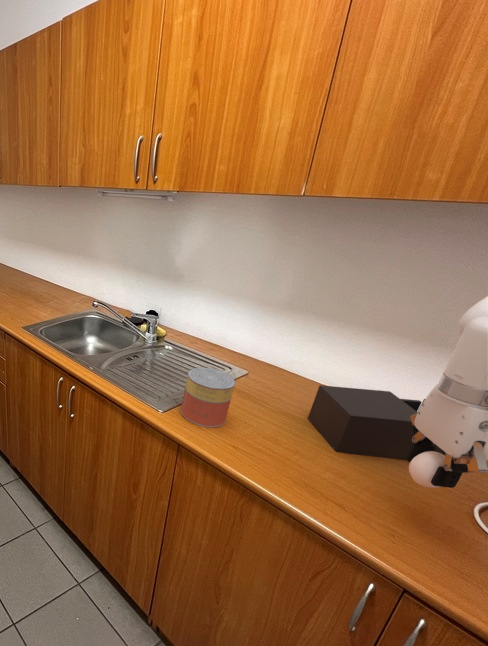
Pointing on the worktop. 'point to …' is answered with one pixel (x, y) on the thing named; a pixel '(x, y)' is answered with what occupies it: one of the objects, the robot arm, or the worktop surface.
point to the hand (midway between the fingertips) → (429, 472)
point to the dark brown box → (363, 421)
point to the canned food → (207, 396)
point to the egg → (425, 467)
